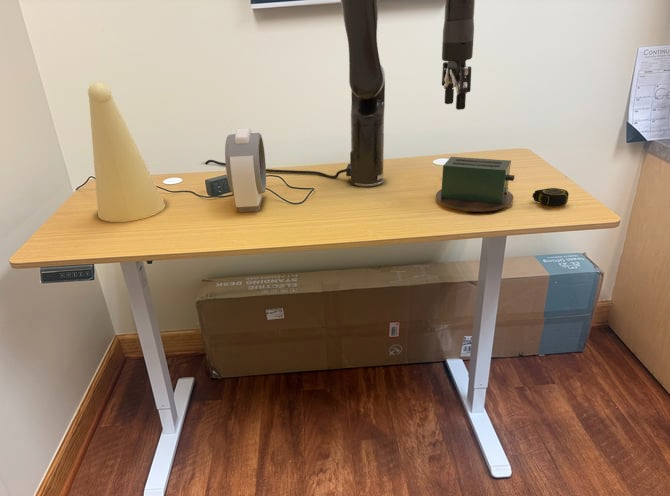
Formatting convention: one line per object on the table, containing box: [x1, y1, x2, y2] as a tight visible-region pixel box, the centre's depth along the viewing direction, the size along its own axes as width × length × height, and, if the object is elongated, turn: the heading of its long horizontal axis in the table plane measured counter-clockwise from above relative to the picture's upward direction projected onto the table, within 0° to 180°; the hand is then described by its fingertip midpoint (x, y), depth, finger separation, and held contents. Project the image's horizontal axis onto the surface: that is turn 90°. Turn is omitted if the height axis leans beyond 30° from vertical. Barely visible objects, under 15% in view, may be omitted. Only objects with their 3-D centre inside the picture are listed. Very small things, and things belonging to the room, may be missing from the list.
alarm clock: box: [224, 127, 267, 213], centre depth 141 cm, size 18×8×20 cm, turn 179°
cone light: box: [87, 81, 166, 223], centre depth 137 cm, size 25×18×35 cm
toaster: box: [435, 156, 516, 213], centre depth 135 cm, size 19×19×9 cm
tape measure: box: [532, 187, 569, 208], centre depth 131 cm, size 7×7×4 cm
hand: (454, 106), depth 141 cm, fingers open, 8 cm apart
